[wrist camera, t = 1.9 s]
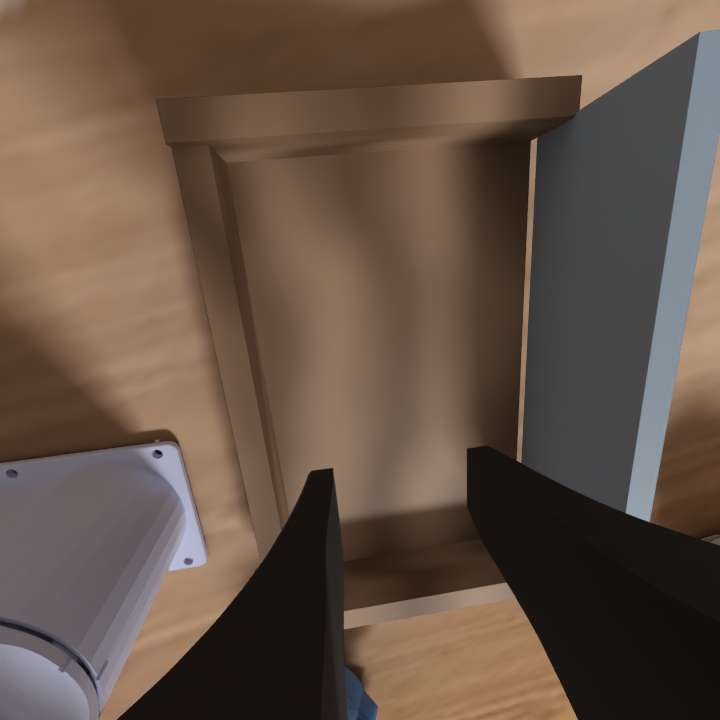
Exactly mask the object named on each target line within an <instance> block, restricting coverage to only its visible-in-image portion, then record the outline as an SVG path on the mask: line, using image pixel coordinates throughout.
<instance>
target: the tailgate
mask: <svg viewBox="0 0 720 720" xmlns="http://www.w3.org/2000/svg"><path fill="white" fill-rule="evenodd" d="M719 133H720V30H712V31H704V32H699V33H698V34H696V35H695V36H693V37H692V38H690V39H688V40H687V41H685V42H684V43H682V44H681V45H679V46H678V47H676V48H675V49H673V50H672V51H670V52H668V53H667V54H665V55H664V56H662V57H661V58H659V59H658V60H656V61H655V62H653V63H652V64H650V65H648V66H647V67H645V68H644V69H642V70H641V71H639V72H638V73H636V74H635V75H633V76H632V77H630V78H628V79H627V80H625V81H624V82H622V83H621V84H619V85H618V86H616V87H615V88H613V89H612V90H610V91H608V92H607V93H605V94H604V95H602V96H601V97H599V98H598V99H596V100H595V101H593V102H592V103H590V104H588V105H587V106H585V107H584V108H582V109H581V110H579V111H578V112H576V116H575V117H573V118H572V119H570V120H569V121H567V122H565V123H564V124H562V125H560V126H558V127H556V128H554V129H552V130H551V131H549V132H547V133H545V134H543V135H541V136H539V137H538V138H537V158H536V178H535V198H534V219H533V239H532V259H531V279H530V300H529V320H528V340H527V360H526V381H525V401H524V421H523V441H522V462H521V463H522V464H523V465H525V466H527V467H529V468H531V469H533V470H535V471H537V472H538V473H540V474H542V475H544V476H546V477H548V478H550V479H552V480H554V481H556V482H558V483H560V484H562V485H564V486H566V487H568V488H570V489H572V490H574V491H576V492H578V493H581V494H583V495H585V496H587V497H589V498H591V499H593V500H596V501H598V502H600V503H602V504H605V505H607V506H609V507H612V508H614V509H617V510H619V511H622V512H624V513H627V514H629V515H632V516H635V517H637V518H640V519H642V520H645V521H647V522H650V517H651V511H652V506H653V500H654V495H655V489H656V484H657V478H658V472H659V467H660V461H661V456H662V450H663V445H664V439H665V434H666V428H667V422H668V417H669V411H670V406H671V400H672V395H673V389H674V384H675V378H676V372H677V367H678V361H679V356H680V350H681V345H682V339H683V334H684V328H685V322H686V317H687V311H688V306H689V300H690V295H691V289H692V284H693V278H694V272H695V267H696V261H697V256H698V250H699V245H700V239H701V233H702V228H703V222H704V217H705V211H706V206H707V200H708V195H709V189H710V183H711V178H712V172H713V167H714V161H715V156H716V150H717V145H718V139H719Z"/></svg>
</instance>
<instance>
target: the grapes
mask: <svg viewBox="0 0 720 720" xmlns="http://www.w3.org/2000/svg"><path fill="white" fill-rule="evenodd" d="M344 672H345V687H346V700H347V714H348V720H376V715H377V709H378V706H377V705H376V704H375V702H374V701H373V700H372V699H371V698H370V697H369V695H368V694H367V693H366V692H365V691H364V690H363V686H364V685H363V684H362V683H361V681H360V680H359V679H358V678H357V677H356V676H355V674H354V673H353V672H352V671H351V670H350V669H349V668H347V667H346V666H345V665H344Z"/></svg>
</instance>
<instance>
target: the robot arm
mask: <svg viewBox="0 0 720 720" xmlns="http://www.w3.org/2000/svg"><path fill="white" fill-rule="evenodd" d="M155 450H160V451H161V452H162V453H163V454H162V455H159V454H157V453H156V452H155ZM12 469H13V470H15V471H16V472H17V473H18V474H17V473H15V472H14V471H13V470H12ZM467 509H468V511H469V513H470V516H471V518H472V520H473V523H474V525H475V527H476V529H477V532H478V534H479V536H480V538H481V540H482V542H483V544H484V545H485V547H486V549H487V551H488V552H489V554H490V556H491V557H492V559H493V561H494V562H495V564H496V566H497V567H498V569H499V571H500V572H501V574H502V576H503V577H504V579H505V581H506V582H507V584H508V586H509V587H510V589H511V591H512V592H513V594H514V596H515V597H516V599H517V601H518V602H519V604H520V606H521V607H522V609H523V611H524V612H525V614H526V616H527V617H528V619H529V621H530V623H531V625H532V626H533V628H534V630H535V632H536V634H537V635H538V637H539V639H540V641H541V643H542V645H543V647H544V649H545V651H546V653H547V656H548V658H549V660H550V662H551V664H552V666H553V668H554V670H555V672H556V674H557V676H558V678H559V680H560V682H561V684H562V686H563V688H564V691H565V693H566V695H567V697H568V699H569V701H570V703H571V706H572V708H573V710H574V712H575V714H576V716H577V718H578V720H720V545H717V544H714V543H710V542H707V541H704V540H701V539H698V538H694V537H691V536H688V535H685V534H682V533H679V532H676V531H673V530H670V529H667V528H664V527H661V526H659V525H656V524H653V523H650V522H647V521H645V520H642V519H640V518H637V517H635V516H632V515H629V514H627V513H624V512H622V511H619V510H617V509H614V508H612V507H609V506H607V505H605V504H602V503H600V502H598V501H596V500H593V499H591V498H589V497H587V496H585V495H583V494H581V493H578V492H576V491H574V490H572V489H570V488H568V487H566V486H564V485H562V484H560V483H558V482H556V481H554V480H552V479H550V478H548V477H546V476H544V475H542V474H540V473H538V472H537V471H535V470H533V469H531V468H529V467H527V466H525V465H523V464H522V463H520V462H518V461H516V460H514V459H512V458H511V457H509V456H507V455H505V454H503V453H501V452H499V451H497V450H495V449H493V448H491V447H489V446H480V447H473V448H467ZM188 558H191V559H188ZM207 558H208V551H207V548H206V544H205V540H204V537H203V533H202V529H201V525H200V522H199V518H198V514H197V510H196V507H195V503H194V499H193V496H192V492H191V488H190V484H189V481H188V477H187V473H186V469H185V466H184V462H183V458H182V455H181V451H180V448H179V446H178V444H176V443H175V442H172V441H164V442H156V443H149V444H141V445H134V446H126V447H119V448H111V449H103V450H96V451H88V452H81V453H73V454H66V455H58V456H51V457H43V458H35V459H28V460H20V461H13V462H5V463H0V720H99V717H100V715H101V713H102V711H103V709H104V707H105V705H106V702H107V700H108V698H109V696H110V694H111V692H112V690H113V687H114V685H115V683H116V681H117V679H118V677H119V675H120V672H121V670H122V668H123V666H124V664H125V662H126V660H127V657H128V655H129V653H130V651H131V649H132V647H133V645H134V642H135V640H136V638H137V636H138V634H139V632H140V630H141V627H142V625H143V623H144V621H145V619H146V617H147V615H148V612H149V610H150V608H151V606H152V604H153V602H154V600H155V597H156V595H157V593H158V591H159V589H160V587H161V585H162V582H163V580H164V578H165V576H166V574H167V572H168V571H172V570H178V569H184V568H191V567H197V566H201V565H203V564H205V563H206V561H207ZM117 720H348V714H347V700H346V687H345V672H344V558H343V547H342V537H341V527H340V519H339V511H338V503H337V495H336V488H335V480H334V472H333V468H327V469H320V470H313V471H311V472H310V473H309V474H308V476H307V479H306V482H305V485H304V487H303V489H302V492H301V494H300V496H299V498H298V500H297V503H296V505H295V507H294V508H293V510H292V512H291V514H290V516H289V518H288V520H287V522H286V524H285V526H284V527H283V529H282V531H281V532H280V534H279V536H278V537H277V539H276V541H275V542H274V544H273V546H272V547H271V549H270V551H269V552H268V554H267V555H266V557H265V558H264V560H263V561H262V563H261V564H260V565H259V567H258V568H257V570H256V571H255V573H254V574H253V575H252V577H251V578H250V579H249V581H248V582H247V583H246V585H245V586H244V587H243V589H242V590H241V591H240V592H239V594H238V595H237V596H236V597H235V599H234V600H233V601H232V602H231V604H230V605H229V606H228V607H227V609H226V610H225V611H224V612H223V613H222V615H221V616H220V617H219V618H218V619H217V620H216V622H215V623H214V624H213V625H212V626H211V627H210V628H209V630H208V631H207V632H206V633H205V634H204V635H203V636H202V637H201V638H200V639H199V640H198V641H197V642H196V643H195V644H194V646H193V647H192V648H191V649H190V650H189V651H188V652H187V653H186V654H185V655H184V656H183V657H182V658H181V659H180V660H179V661H178V663H177V664H176V665H175V666H174V667H173V668H172V669H171V670H170V671H169V672H168V673H167V674H166V675H165V676H163V677H162V678H161V679H160V680H159V681H158V682H157V683H156V684H155V685H154V686H153V687H152V688H151V689H150V690H149V691H148V692H146V693H145V694H144V695H143V696H142V697H141V698H140V699H139V700H138V701H137V702H136V703H135V704H133V705H132V706H131V707H130V708H129V709H128V710H127V711H126V712H125V713H124V714H123V715H121V716H120V717H119V718H118V719H117Z"/></svg>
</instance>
